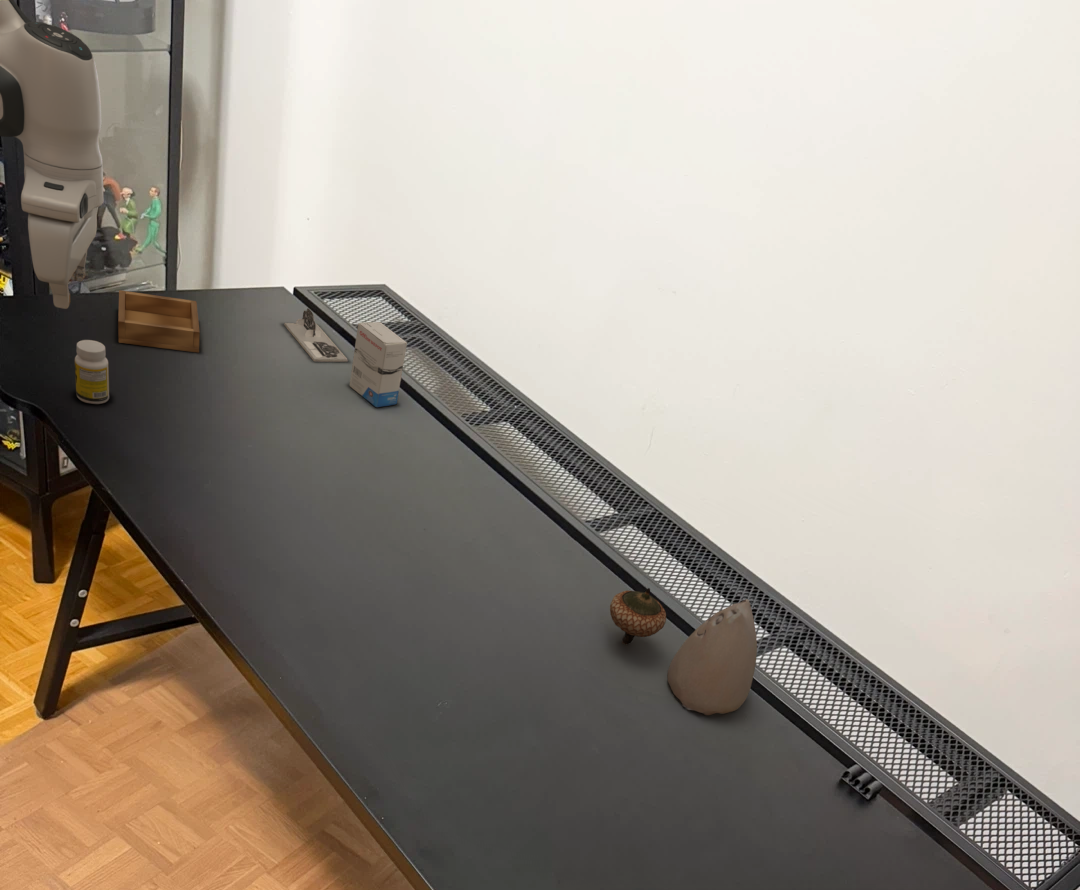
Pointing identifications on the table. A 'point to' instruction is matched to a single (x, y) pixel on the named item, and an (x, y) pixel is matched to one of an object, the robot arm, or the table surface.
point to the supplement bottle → (91, 372)
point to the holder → (158, 321)
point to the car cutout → (315, 340)
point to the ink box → (377, 364)
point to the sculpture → (716, 662)
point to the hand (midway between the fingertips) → (70, 292)
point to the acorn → (637, 614)
